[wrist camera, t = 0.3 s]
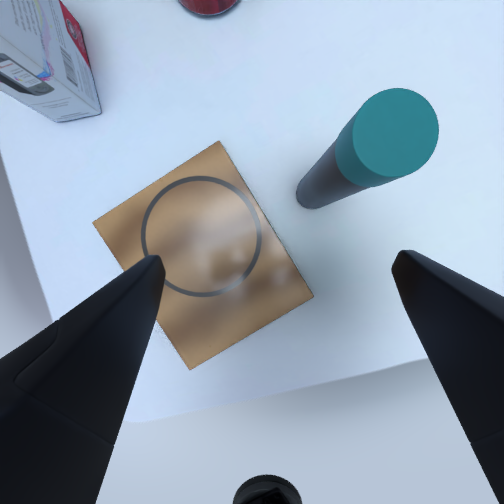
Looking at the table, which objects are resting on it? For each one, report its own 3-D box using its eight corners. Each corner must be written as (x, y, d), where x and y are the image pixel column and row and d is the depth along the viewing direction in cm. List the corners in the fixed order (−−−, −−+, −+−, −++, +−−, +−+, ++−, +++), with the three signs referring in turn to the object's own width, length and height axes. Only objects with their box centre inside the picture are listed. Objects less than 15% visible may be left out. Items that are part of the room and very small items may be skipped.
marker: (333, 199, 23) (454, 147, 9) (304, 217, 23) (378, 193, 9) (316, 170, 23) (413, 69, 9) (286, 188, 23) (336, 118, 9)
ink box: (34, 33, 22) (-217, -195, 10) (85, 23, 22) (-111, -221, 10) (56, 126, 23) (-157, 11, 11) (105, 116, 23) (-56, -11, 11)
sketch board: (312, 295, 24) (314, 297, 23) (191, 367, 25) (189, 371, 24) (219, 142, 23) (218, 139, 22) (95, 222, 24) (90, 222, 23)
